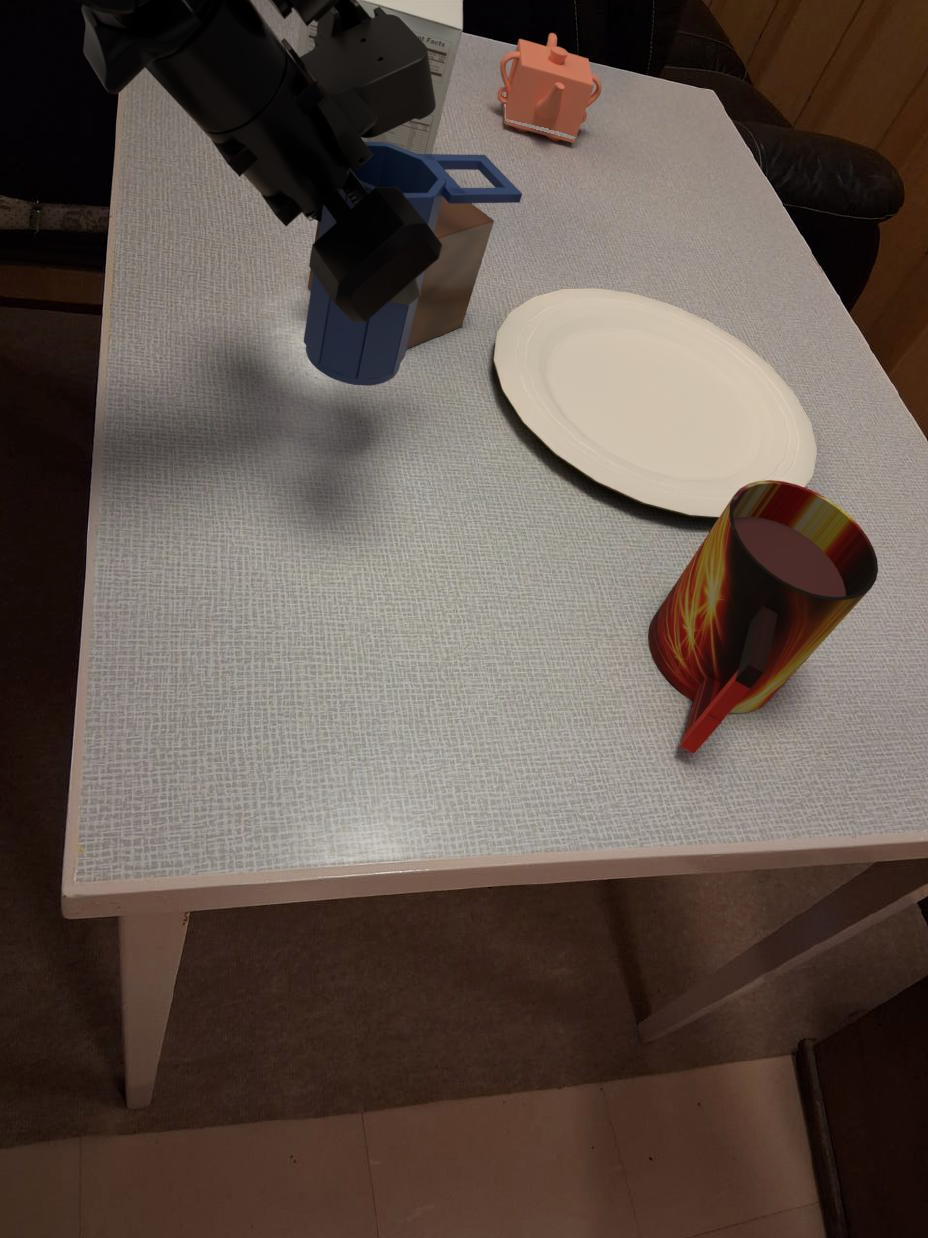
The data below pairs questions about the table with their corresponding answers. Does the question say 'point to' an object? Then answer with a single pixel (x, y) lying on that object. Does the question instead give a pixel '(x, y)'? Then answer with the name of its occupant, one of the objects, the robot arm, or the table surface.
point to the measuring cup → (384, 337)
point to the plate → (650, 399)
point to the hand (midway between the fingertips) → (390, 266)
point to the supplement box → (437, 21)
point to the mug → (758, 600)
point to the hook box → (448, 271)
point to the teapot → (547, 88)
